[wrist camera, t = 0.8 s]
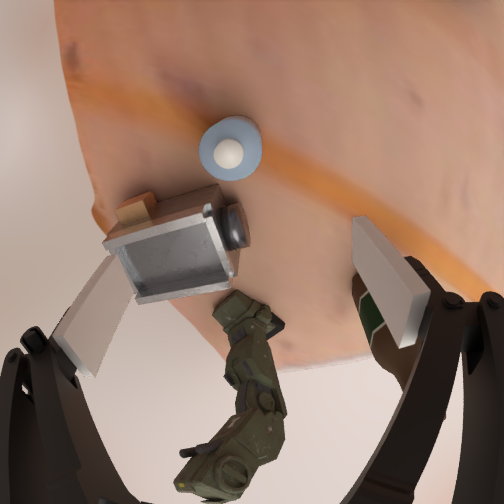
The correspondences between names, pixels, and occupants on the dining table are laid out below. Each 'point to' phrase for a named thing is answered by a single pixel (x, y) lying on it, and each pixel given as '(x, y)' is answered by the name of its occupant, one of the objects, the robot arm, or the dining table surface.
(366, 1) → the dining table surface
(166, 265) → the open grey metal box
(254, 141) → the light blue bottle
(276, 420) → the mechanical leg
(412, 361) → the beer bottle
